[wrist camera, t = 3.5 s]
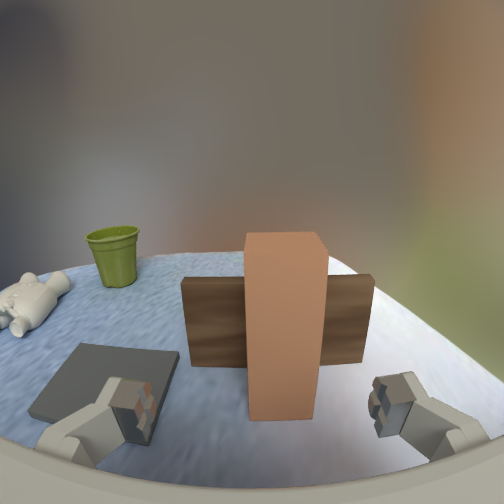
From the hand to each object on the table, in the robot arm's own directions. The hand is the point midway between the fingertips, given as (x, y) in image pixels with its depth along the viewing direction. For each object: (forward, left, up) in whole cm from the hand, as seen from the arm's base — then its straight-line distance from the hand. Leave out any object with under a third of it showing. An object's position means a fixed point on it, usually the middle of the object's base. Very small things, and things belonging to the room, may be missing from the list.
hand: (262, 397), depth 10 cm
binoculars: (+36, +22, -12) cm, 44 cm away
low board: (+15, -8, -12) cm, 21 cm away
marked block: (+10, -6, -12) cm, 17 cm away
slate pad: (+17, +9, -12) cm, 22 cm away
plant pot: (+44, +7, -12) cm, 46 cm away
